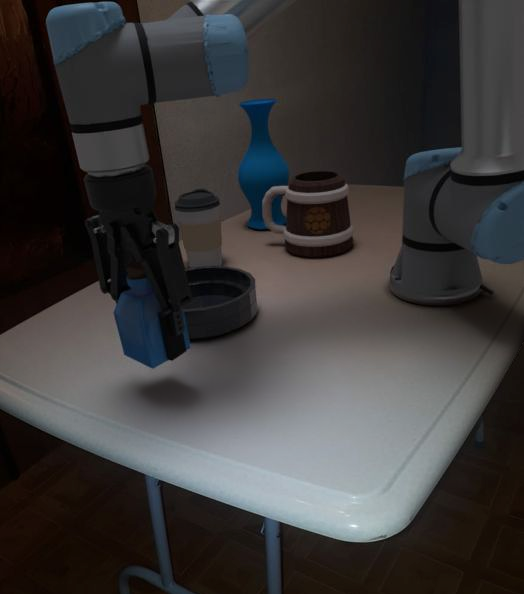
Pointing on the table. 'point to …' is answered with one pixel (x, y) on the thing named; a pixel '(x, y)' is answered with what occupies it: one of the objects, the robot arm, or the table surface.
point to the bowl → (219, 300)
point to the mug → (313, 214)
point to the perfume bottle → (141, 320)
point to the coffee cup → (200, 227)
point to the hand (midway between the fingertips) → (156, 348)
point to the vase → (262, 165)
